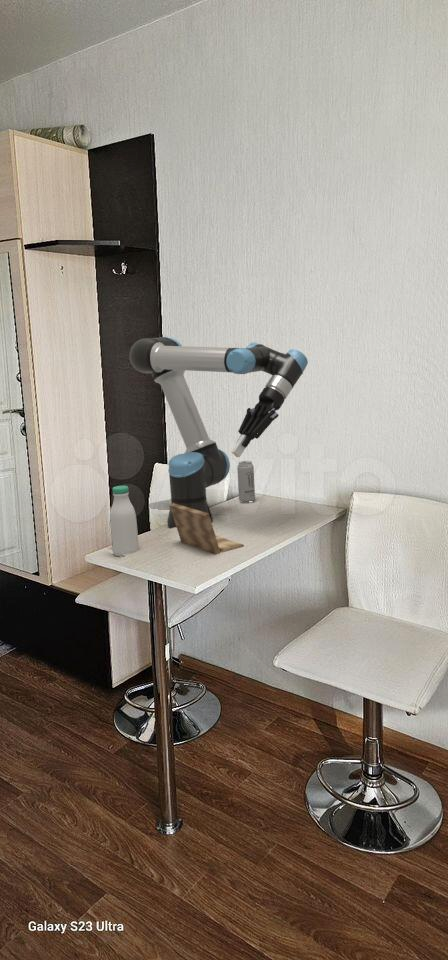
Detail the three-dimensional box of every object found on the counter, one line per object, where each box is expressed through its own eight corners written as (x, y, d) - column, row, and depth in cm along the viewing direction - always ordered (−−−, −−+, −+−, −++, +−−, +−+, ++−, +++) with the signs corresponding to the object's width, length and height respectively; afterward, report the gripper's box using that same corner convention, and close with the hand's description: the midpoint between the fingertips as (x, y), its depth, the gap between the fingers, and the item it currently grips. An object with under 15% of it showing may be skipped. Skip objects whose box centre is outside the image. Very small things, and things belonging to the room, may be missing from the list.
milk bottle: (144, 552, 206) (139, 485, 202) (123, 558, 201) (117, 491, 197) (128, 547, 211) (123, 483, 207) (107, 554, 206) (101, 487, 202)
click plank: (181, 543, 211) (169, 505, 207) (185, 541, 212) (173, 503, 208) (216, 556, 197) (204, 515, 193) (220, 554, 198) (208, 513, 193)
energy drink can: (247, 504, 257) (245, 464, 254) (235, 502, 261) (233, 462, 258) (258, 500, 261) (256, 461, 258) (246, 499, 265) (244, 460, 262)
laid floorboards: (186, 543, 213) (186, 537, 212) (208, 537, 217) (207, 531, 217) (221, 555, 198) (221, 549, 198) (244, 549, 203) (243, 543, 202)
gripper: (295, 402, 213) (256, 464, 207) (268, 400, 224) (229, 459, 217) (282, 386, 209) (241, 449, 203) (254, 385, 220) (214, 445, 213)
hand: (235, 454), depth 210 cm, fingers closed
